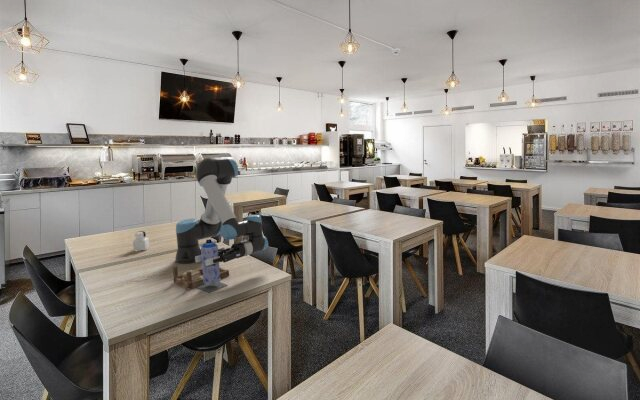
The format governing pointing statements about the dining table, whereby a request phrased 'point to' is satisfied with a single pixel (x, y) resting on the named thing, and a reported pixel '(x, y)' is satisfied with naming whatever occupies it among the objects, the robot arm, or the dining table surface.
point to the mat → (212, 287)
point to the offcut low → (192, 280)
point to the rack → (189, 283)
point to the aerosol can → (211, 271)
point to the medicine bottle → (141, 241)
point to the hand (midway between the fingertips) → (200, 261)
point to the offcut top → (192, 274)
